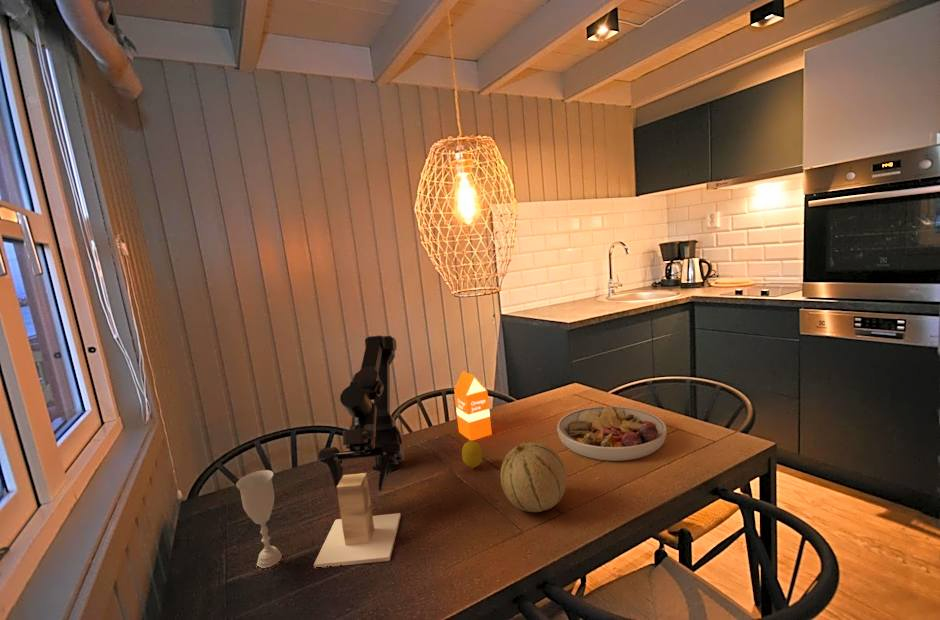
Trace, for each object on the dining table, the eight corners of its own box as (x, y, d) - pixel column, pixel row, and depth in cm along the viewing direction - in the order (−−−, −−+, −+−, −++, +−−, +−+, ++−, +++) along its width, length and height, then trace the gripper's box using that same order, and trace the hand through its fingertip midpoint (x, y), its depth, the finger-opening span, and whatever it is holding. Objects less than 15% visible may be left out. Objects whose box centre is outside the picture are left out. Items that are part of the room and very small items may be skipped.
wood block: (351, 530, 99) (343, 475, 98) (374, 528, 99) (366, 472, 98) (345, 545, 95) (336, 487, 93) (369, 543, 94) (360, 485, 93)
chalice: (259, 551, 97) (245, 472, 94) (291, 546, 97) (278, 468, 95) (245, 576, 90) (229, 491, 87) (280, 570, 90) (265, 486, 88)
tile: (336, 522, 105) (335, 519, 104) (400, 516, 104) (400, 513, 104) (314, 568, 90) (313, 564, 90) (389, 560, 90) (389, 557, 89)
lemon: (481, 473, 120) (478, 444, 119) (461, 473, 121) (458, 444, 120) (485, 463, 126) (482, 435, 125) (465, 463, 127) (462, 436, 126)
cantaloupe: (583, 510, 99) (578, 445, 97) (526, 535, 93) (520, 466, 91) (543, 482, 112) (538, 425, 110) (491, 502, 106) (485, 441, 104)
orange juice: (479, 425, 152) (473, 368, 150) (492, 434, 144) (486, 373, 142) (458, 432, 149) (451, 373, 146) (470, 441, 141) (463, 379, 138)
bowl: (537, 445, 134) (535, 420, 133) (596, 414, 153) (594, 391, 152) (630, 478, 111) (629, 448, 110) (686, 436, 130) (685, 410, 129)
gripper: (313, 415, 102) (303, 487, 93) (395, 407, 102) (394, 478, 93) (329, 434, 111) (321, 501, 102) (404, 426, 111) (404, 492, 102)
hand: (359, 493), depth 99 cm, fingers open, 9 cm apart
